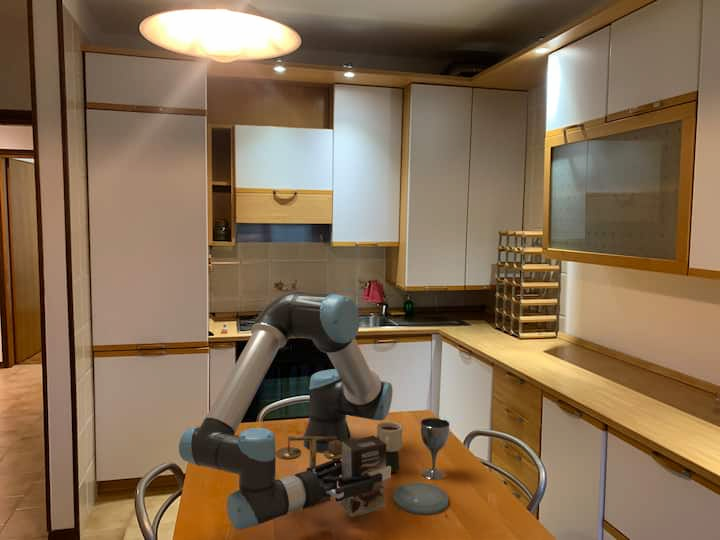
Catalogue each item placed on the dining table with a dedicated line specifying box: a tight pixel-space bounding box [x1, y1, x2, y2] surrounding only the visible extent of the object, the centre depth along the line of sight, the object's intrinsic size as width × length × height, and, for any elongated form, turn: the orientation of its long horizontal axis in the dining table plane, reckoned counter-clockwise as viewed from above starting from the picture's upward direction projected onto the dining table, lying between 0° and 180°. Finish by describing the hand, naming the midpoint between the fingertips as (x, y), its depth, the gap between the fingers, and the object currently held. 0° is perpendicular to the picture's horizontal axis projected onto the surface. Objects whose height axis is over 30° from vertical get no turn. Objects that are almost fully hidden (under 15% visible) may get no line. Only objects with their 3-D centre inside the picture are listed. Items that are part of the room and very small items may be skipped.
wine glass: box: [420, 417, 450, 481], centre depth 158 cm, size 8×8×15 cm
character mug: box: [376, 421, 403, 473], centre depth 160 cm, size 11×7×13 cm, turn 168°
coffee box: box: [340, 435, 386, 517], centre depth 134 cm, size 9×6×16 cm
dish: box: [393, 482, 449, 516], centre depth 143 cm, size 14×14×1 cm
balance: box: [276, 435, 342, 505], centre depth 143 cm, size 8×20×18 cm, turn 126°
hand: (379, 465), depth 137 cm, fingers closed on coffee box, 7 cm apart
